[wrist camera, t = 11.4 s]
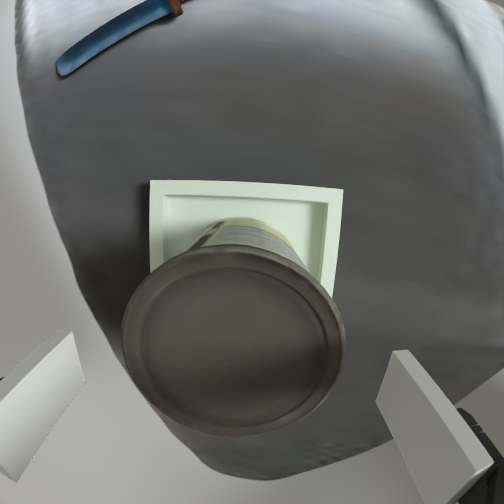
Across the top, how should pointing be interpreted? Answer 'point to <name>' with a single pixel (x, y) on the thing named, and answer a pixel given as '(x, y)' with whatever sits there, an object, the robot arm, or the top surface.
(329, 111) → the top surface
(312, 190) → the tray
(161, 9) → the knife
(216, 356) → the coffee can
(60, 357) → the robot arm
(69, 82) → the top surface
